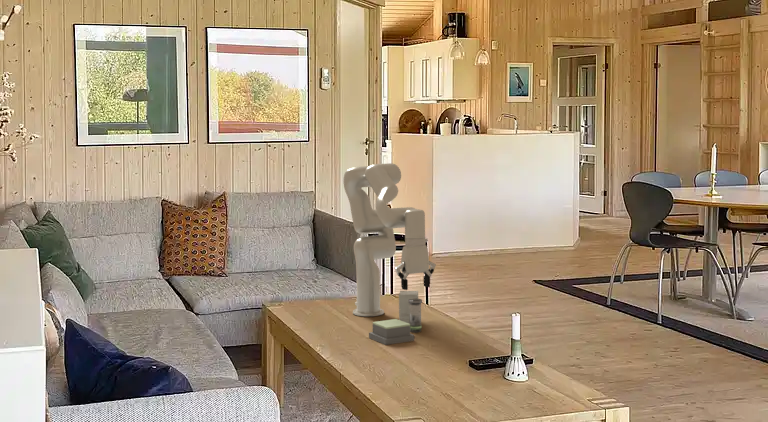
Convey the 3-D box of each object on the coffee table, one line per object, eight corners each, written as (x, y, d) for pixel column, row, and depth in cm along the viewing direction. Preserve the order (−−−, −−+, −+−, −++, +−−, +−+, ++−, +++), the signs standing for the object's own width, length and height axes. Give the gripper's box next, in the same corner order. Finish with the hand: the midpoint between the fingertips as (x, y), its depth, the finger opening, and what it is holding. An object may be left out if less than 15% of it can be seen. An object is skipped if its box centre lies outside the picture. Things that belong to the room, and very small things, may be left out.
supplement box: (419, 322, 381) (419, 290, 380) (417, 326, 374) (417, 294, 372) (400, 322, 382) (400, 290, 380) (398, 326, 374) (398, 294, 373)
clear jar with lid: (405, 330, 367) (405, 299, 366) (417, 329, 370) (417, 297, 368) (413, 333, 363) (412, 301, 361) (424, 331, 365) (424, 300, 364)
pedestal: (368, 338, 356) (368, 321, 356) (397, 333, 362) (396, 318, 362) (385, 344, 346) (385, 328, 345) (414, 340, 352) (414, 324, 351)
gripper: (429, 239, 370) (429, 284, 372) (390, 243, 361) (390, 289, 363) (440, 241, 363) (440, 287, 365) (400, 245, 355) (401, 292, 356)
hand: (415, 288), depth 364 cm, fingers open, 9 cm apart
